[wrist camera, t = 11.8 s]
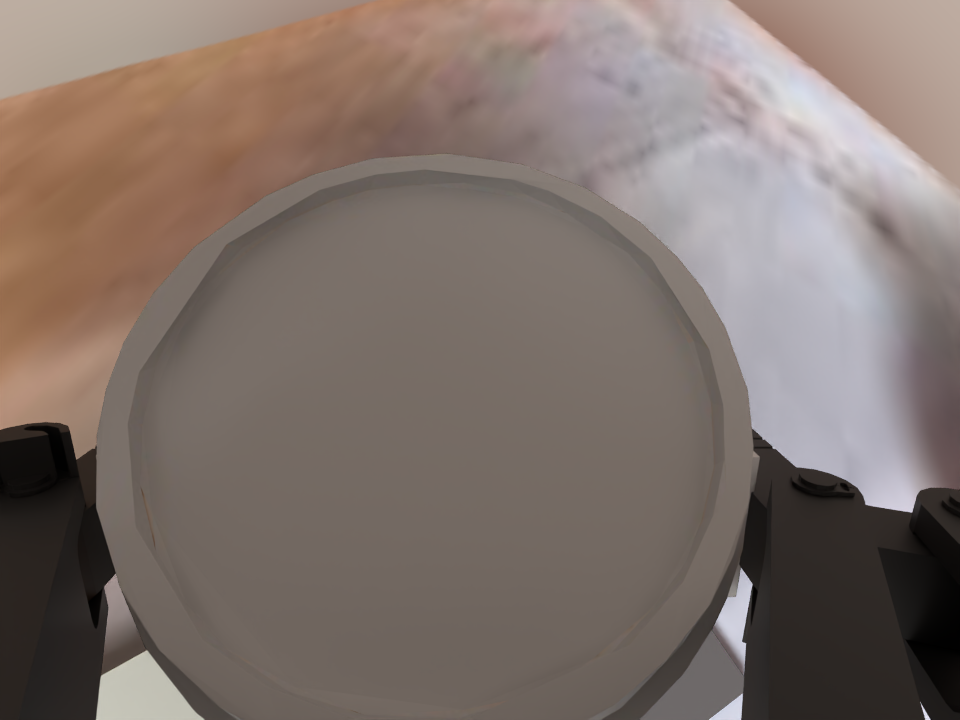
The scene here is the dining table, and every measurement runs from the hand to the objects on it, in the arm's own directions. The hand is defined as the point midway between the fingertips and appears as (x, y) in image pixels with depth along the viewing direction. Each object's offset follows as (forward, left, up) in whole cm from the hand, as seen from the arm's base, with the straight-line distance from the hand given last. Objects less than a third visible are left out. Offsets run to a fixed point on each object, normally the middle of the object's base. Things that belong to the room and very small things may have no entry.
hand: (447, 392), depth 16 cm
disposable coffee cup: (+3, -2, -5) cm, 6 cm away
